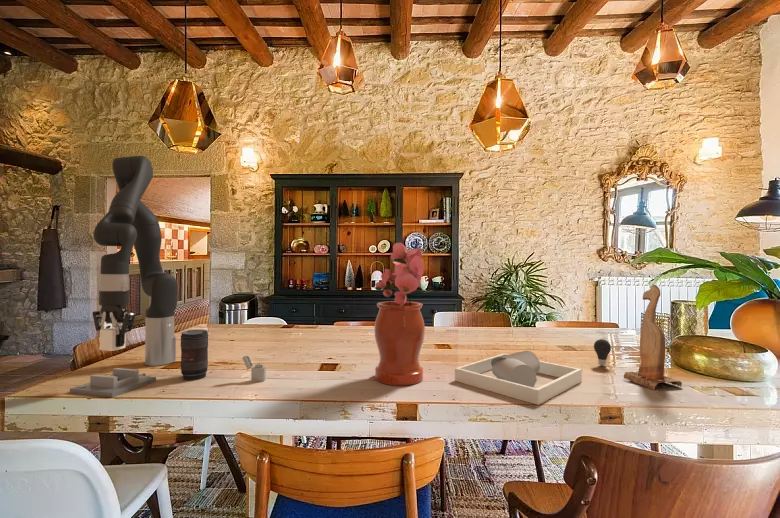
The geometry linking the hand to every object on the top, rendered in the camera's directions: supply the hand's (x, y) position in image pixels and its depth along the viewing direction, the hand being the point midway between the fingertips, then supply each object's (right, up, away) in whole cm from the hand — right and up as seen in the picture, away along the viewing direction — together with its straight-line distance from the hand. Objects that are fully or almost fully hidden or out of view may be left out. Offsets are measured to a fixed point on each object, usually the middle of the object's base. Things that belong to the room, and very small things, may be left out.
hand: (113, 345), depth 116 cm
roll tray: (+125, -13, +9) cm, 126 cm away
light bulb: (+162, -14, +27) cm, 165 cm away
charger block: (0, -1, 0) cm, 1 cm away
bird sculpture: (+167, -14, +7) cm, 168 cm away
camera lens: (+20, -13, +10) cm, 25 cm away
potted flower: (+88, -13, +12) cm, 89 cm away
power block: (+1, -12, +2) cm, 13 cm away
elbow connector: (+125, -14, +9) cm, 126 cm away
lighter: (+40, -13, +7) cm, 43 cm away
